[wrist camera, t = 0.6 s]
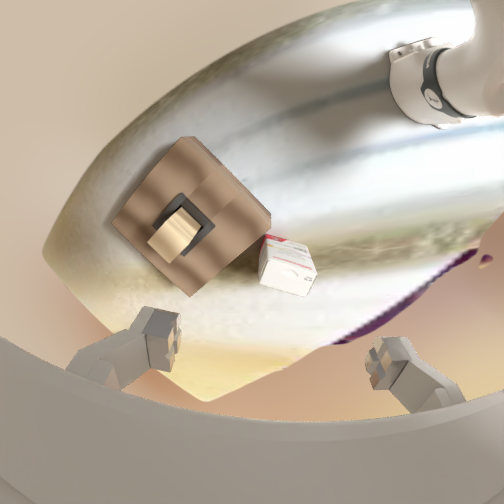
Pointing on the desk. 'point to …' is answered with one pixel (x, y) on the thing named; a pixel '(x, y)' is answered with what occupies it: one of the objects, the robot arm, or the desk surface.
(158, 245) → the peg
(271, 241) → the ink box
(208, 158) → the sleeve block
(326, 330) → the desk surface
